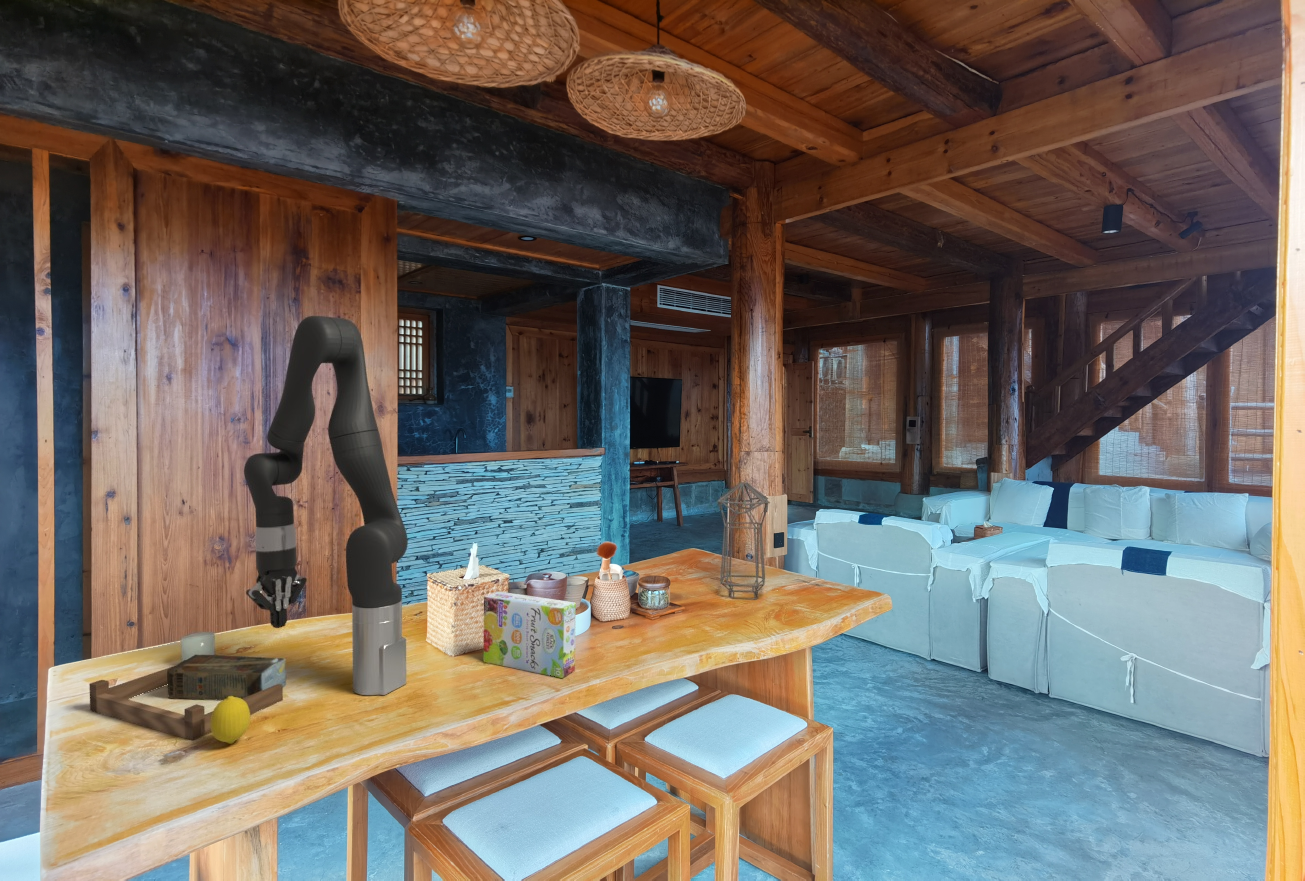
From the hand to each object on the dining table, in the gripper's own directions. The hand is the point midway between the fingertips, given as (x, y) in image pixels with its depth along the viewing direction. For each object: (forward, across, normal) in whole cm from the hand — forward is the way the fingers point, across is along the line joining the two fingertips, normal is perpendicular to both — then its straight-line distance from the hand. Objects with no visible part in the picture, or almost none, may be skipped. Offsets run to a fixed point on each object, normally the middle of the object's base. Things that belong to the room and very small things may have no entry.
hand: (279, 626), depth 140 cm
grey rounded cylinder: (+9, -5, +20) cm, 22 cm away
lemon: (+10, -25, -21) cm, 34 cm away
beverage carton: (+10, -12, -1) cm, 15 cm away
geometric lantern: (+12, +98, -75) cm, 125 cm away
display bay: (+9, -19, 0) cm, 21 cm away
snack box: (+11, +23, -47) cm, 54 cm away
